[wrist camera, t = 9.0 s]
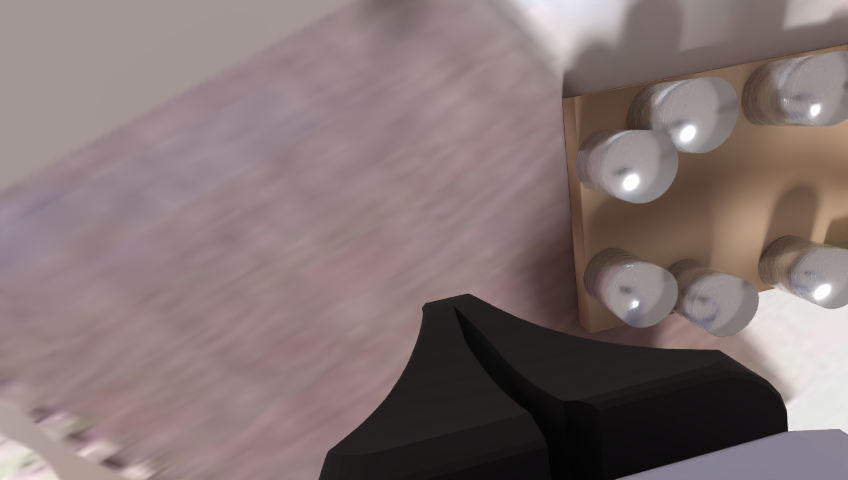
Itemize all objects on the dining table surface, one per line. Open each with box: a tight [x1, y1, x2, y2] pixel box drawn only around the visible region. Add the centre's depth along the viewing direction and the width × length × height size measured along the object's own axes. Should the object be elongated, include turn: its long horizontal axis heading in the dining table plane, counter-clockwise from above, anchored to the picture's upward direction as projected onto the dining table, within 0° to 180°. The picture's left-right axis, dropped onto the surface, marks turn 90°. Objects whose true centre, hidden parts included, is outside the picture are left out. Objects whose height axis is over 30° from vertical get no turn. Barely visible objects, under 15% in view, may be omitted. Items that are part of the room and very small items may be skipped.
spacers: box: [575, 51, 848, 337], centre depth 20 cm, size 12×13×3 cm
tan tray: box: [562, 44, 848, 334], centre depth 21 cm, size 12×22×3 cm, turn 100°
